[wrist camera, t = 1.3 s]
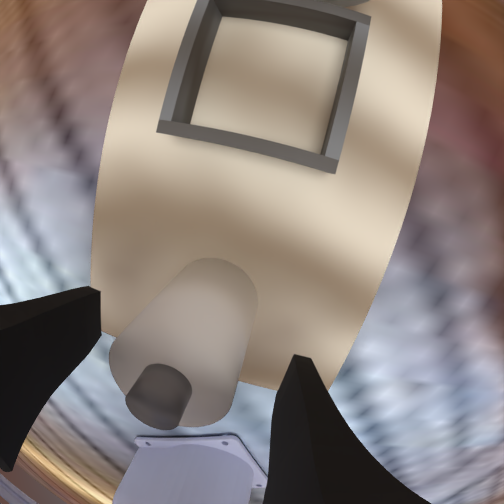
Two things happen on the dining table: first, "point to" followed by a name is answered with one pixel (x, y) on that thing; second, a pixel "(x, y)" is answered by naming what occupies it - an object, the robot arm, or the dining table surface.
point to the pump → (187, 347)
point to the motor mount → (266, 162)
